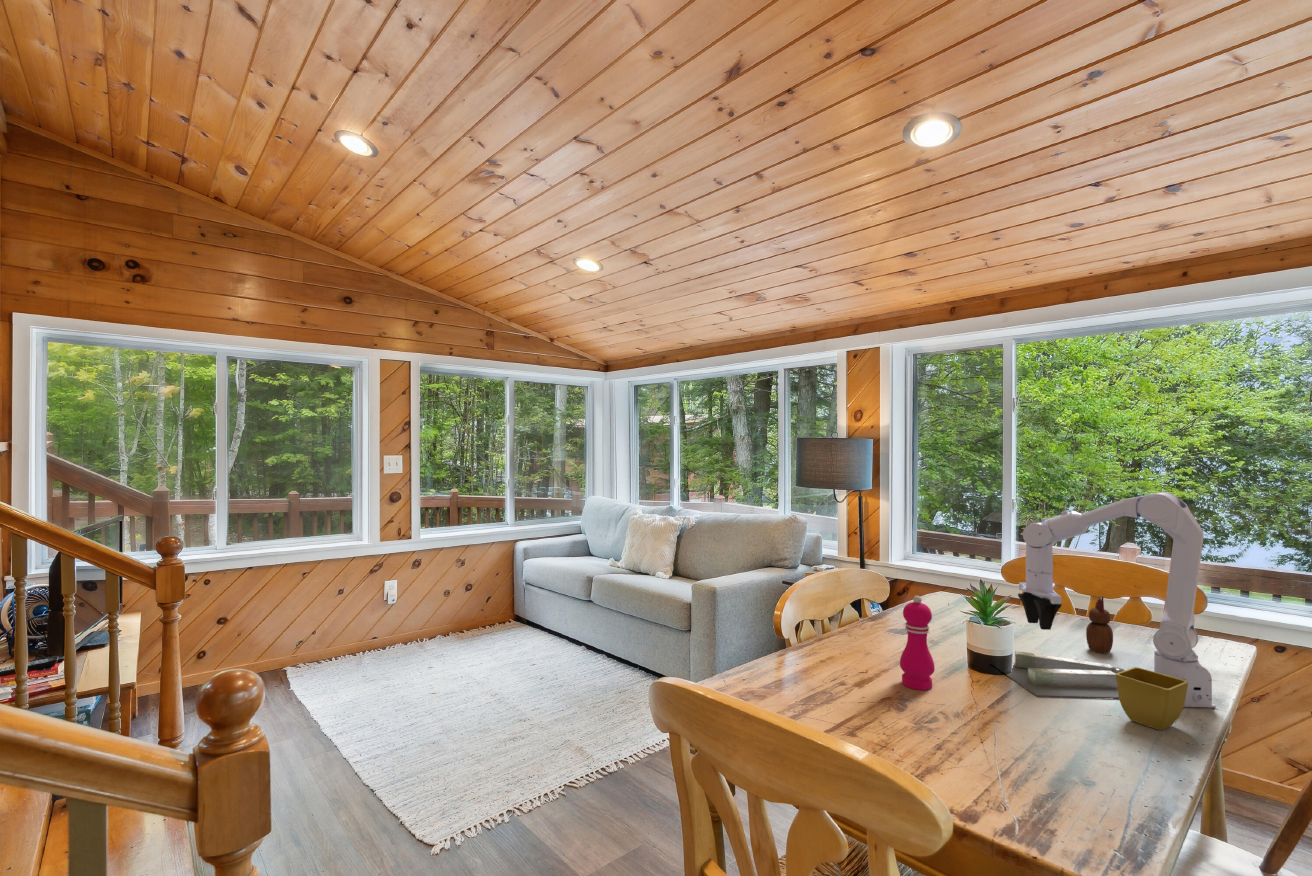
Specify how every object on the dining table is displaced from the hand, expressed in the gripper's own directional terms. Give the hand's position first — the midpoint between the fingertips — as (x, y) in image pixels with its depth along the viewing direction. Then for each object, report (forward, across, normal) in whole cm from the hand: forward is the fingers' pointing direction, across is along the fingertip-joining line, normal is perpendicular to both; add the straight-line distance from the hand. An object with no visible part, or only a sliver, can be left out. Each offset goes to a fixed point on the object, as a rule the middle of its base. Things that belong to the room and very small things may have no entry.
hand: (1039, 625), depth 151 cm
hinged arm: (+9, +8, +2) cm, 12 cm away
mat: (+9, +11, +1) cm, 15 cm away
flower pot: (+10, +33, +3) cm, 34 cm away
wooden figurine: (+10, -11, +22) cm, 26 cm away
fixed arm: (+9, +14, -1) cm, 17 cm away
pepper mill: (+10, +16, -36) cm, 41 cm away
